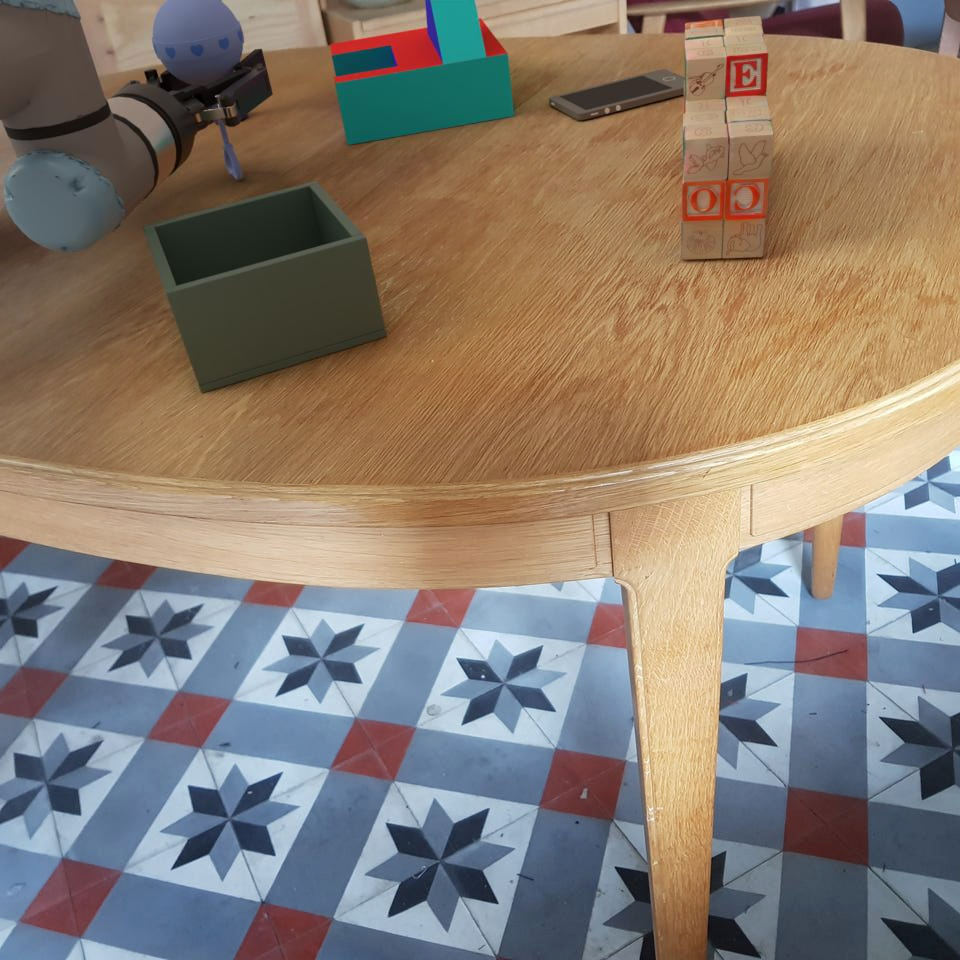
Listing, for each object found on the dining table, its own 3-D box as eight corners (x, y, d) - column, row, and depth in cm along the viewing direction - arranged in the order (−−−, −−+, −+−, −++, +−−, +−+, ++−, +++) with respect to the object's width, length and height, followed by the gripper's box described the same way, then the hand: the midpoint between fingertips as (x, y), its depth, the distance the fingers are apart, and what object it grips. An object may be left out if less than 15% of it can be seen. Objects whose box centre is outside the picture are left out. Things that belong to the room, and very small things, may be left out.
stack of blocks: (766, 260, 70) (777, 88, 63) (680, 263, 72) (681, 95, 64) (753, 158, 87) (761, 12, 79) (684, 162, 88) (685, 19, 81)
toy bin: (174, 316, 75) (142, 225, 71) (336, 269, 79) (316, 180, 74) (201, 393, 65) (165, 293, 60) (387, 336, 68) (366, 237, 64)
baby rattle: (289, 177, 98) (242, -14, 88) (210, 201, 96) (151, 7, 85) (262, 158, 105) (215, -22, 94) (187, 180, 102) (129, -4, 91)
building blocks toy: (480, 63, 126) (461, -96, 115) (514, 115, 106) (495, -71, 95) (339, 87, 125) (307, -71, 114) (347, 145, 105) (309, -40, 94)
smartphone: (579, 121, 101) (578, 114, 100) (547, 104, 107) (546, 97, 107) (701, 89, 104) (701, 83, 104) (663, 74, 110) (663, 68, 110)
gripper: (47, 192, 84) (149, 112, 102) (258, 175, 81) (326, 95, 98) (11, 106, 80) (125, 37, 97) (233, 84, 76) (309, 17, 94)
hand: (226, 66), depth 98 cm, fingers closed on baby rattle, 7 cm apart
